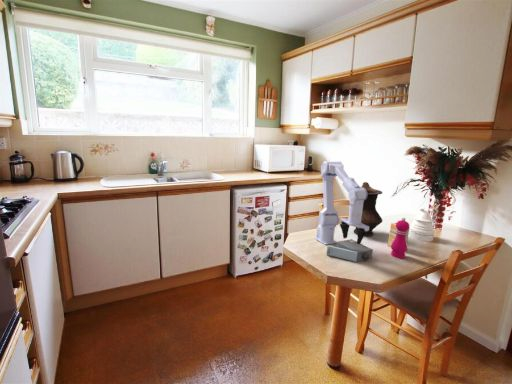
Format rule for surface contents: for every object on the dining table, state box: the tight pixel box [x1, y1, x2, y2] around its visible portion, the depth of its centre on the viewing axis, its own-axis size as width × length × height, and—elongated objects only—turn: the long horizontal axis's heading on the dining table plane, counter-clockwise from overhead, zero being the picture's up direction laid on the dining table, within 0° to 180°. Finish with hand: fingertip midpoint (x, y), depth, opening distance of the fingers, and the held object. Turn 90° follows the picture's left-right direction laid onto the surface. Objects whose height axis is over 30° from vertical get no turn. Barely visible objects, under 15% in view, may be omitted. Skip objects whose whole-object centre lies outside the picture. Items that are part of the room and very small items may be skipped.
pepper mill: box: [390, 217, 410, 259], centre depth 142 cm, size 7×7×20 cm
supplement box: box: [387, 222, 410, 248], centre depth 153 cm, size 8×5×13 cm, turn 21°
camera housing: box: [335, 239, 373, 262], centre depth 143 cm, size 15×10×5 cm, turn 27°
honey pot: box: [408, 207, 435, 243], centre depth 170 cm, size 13×13×18 cm
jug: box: [353, 181, 383, 237], centre depth 172 cm, size 21×18×30 cm
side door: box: [326, 244, 358, 262], centre depth 138 cm, size 14×2×4 cm, turn 62°
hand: (351, 240), depth 137 cm, fingers open, 7 cm apart
